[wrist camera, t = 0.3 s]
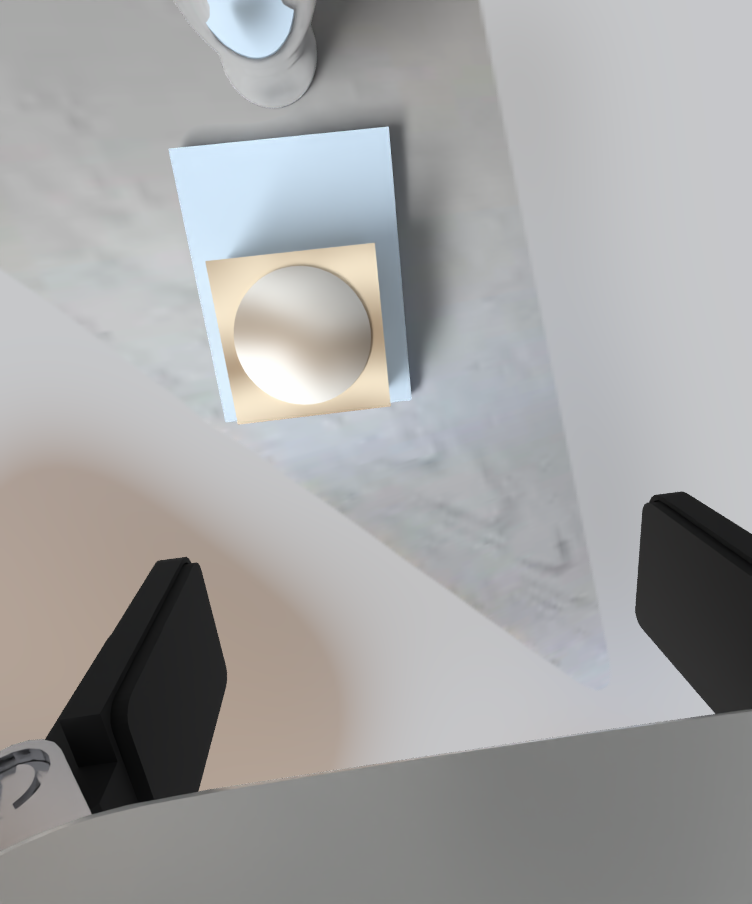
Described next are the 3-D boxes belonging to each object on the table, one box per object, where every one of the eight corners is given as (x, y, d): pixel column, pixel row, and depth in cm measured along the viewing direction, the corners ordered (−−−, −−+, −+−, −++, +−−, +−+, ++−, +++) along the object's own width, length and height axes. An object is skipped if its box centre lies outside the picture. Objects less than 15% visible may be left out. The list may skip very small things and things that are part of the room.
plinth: (222, 262, 35) (204, 261, 30) (369, 247, 35) (374, 242, 30) (250, 406, 38) (237, 425, 33) (384, 390, 39) (391, 406, 34)
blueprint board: (175, 154, 34) (168, 148, 33) (386, 132, 34) (388, 126, 33) (229, 417, 40) (225, 422, 38) (408, 395, 40) (411, 400, 39)
